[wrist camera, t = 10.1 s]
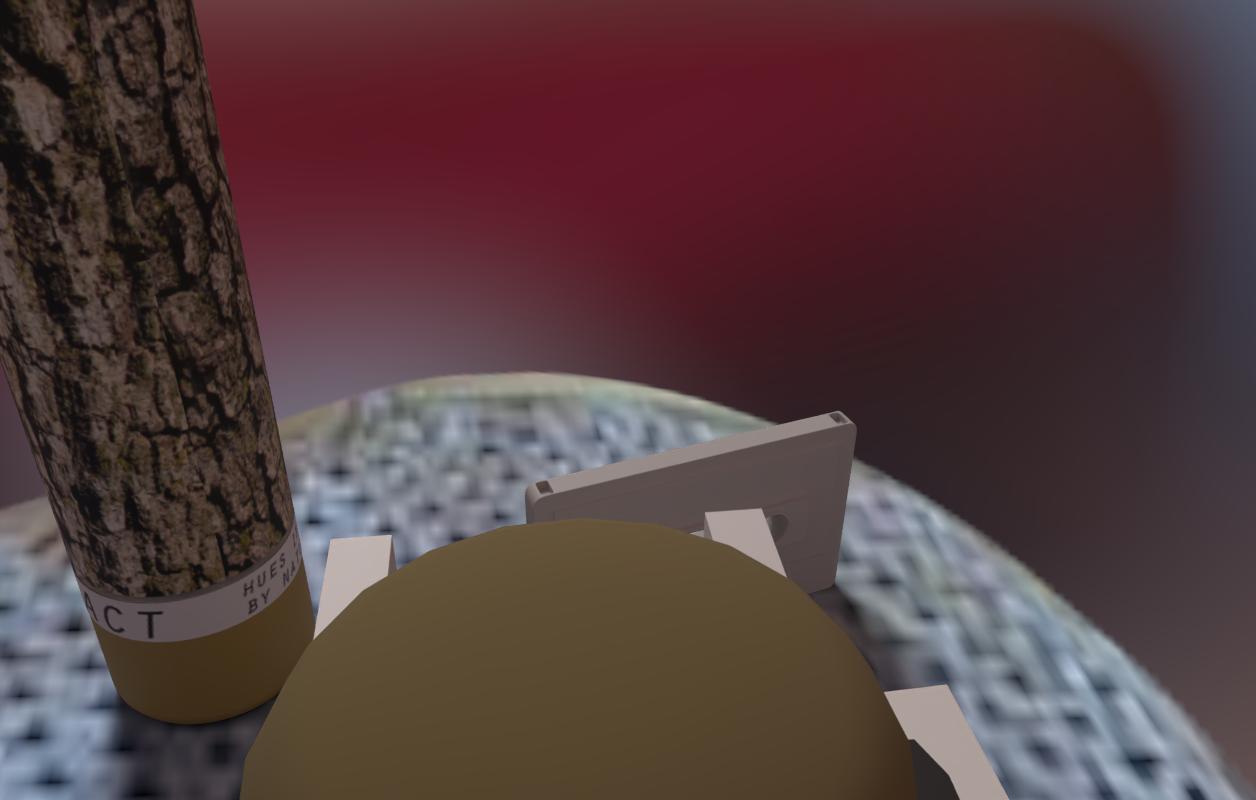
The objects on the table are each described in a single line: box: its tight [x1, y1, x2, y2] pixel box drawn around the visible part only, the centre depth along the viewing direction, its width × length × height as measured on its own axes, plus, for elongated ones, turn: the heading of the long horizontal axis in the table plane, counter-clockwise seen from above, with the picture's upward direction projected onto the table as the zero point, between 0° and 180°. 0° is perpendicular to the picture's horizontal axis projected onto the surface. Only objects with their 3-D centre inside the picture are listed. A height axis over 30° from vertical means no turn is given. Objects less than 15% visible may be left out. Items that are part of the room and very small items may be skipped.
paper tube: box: [0, 0, 315, 724], centre depth 31 cm, size 7×7×25 cm
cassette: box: [525, 411, 857, 594], centre depth 38 cm, size 12×2×8 cm, turn 112°
